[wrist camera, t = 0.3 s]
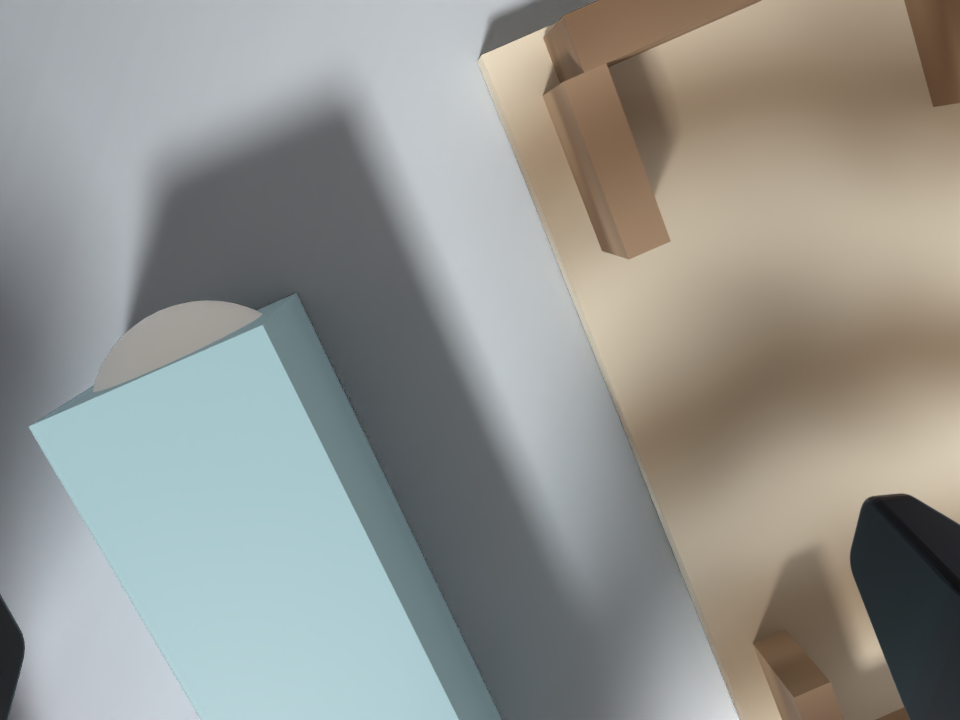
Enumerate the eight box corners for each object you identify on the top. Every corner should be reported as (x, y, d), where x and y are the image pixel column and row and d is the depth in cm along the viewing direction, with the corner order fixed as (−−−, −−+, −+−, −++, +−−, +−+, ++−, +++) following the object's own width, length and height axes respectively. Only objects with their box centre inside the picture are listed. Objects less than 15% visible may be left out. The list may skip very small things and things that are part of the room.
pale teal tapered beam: (530, 777, 24) (561, 926, 19) (377, 844, 24) (371, 1008, 19) (279, 256, 20) (238, 278, 16) (97, 335, 20) (1, 381, 16)
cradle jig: (1119, 626, 25) (1232, 695, 22) (764, 780, 25) (820, 874, 22) (924, -133, 20) (1031, -200, 16) (477, 62, 20) (492, 35, 16)
